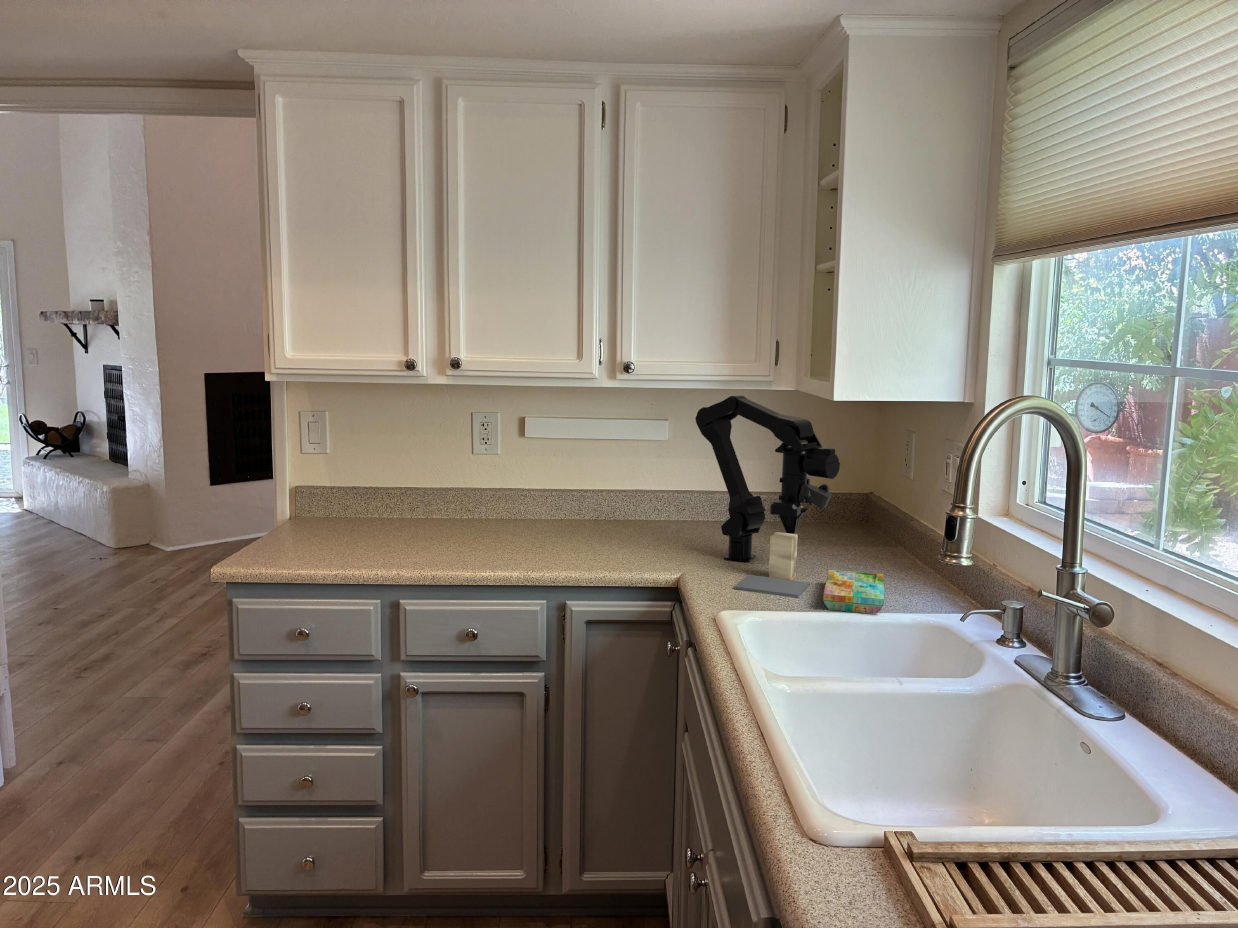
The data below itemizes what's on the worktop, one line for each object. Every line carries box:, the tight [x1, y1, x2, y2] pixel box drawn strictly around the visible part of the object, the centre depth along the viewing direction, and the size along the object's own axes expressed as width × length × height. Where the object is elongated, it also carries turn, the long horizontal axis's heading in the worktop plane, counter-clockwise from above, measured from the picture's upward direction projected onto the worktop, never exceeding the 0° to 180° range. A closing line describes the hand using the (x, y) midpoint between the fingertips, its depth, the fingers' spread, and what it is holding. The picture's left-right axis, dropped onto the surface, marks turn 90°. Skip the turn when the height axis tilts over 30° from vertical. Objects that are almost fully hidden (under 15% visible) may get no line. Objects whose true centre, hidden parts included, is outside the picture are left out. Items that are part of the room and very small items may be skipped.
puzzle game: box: [822, 569, 885, 614], centre depth 195 cm, size 12×5×20 cm
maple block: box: [768, 531, 798, 580], centre depth 210 cm, size 5×5×10 cm
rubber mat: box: [734, 574, 811, 599], centre depth 203 cm, size 11×14×1 cm
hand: (791, 539), depth 217 cm, fingers closed
